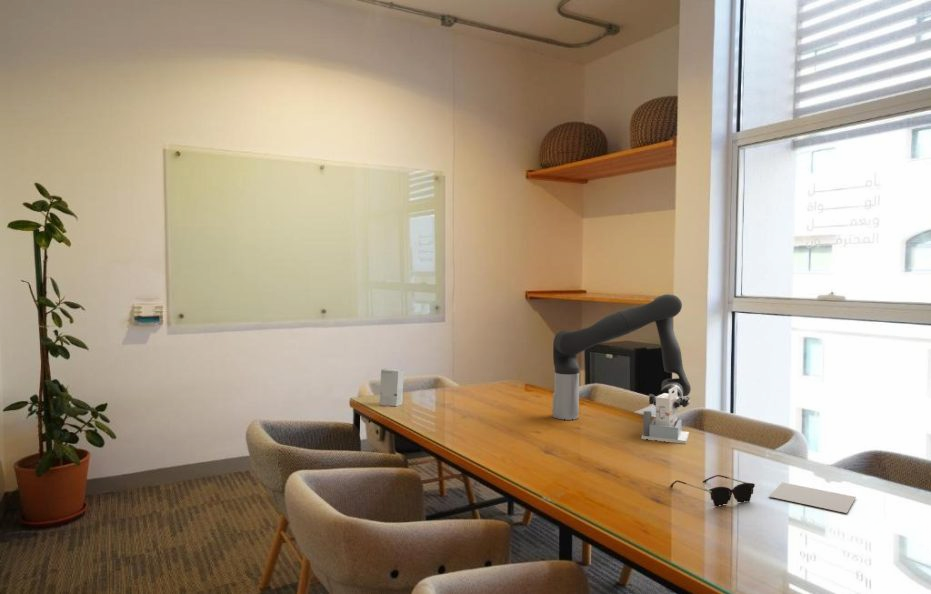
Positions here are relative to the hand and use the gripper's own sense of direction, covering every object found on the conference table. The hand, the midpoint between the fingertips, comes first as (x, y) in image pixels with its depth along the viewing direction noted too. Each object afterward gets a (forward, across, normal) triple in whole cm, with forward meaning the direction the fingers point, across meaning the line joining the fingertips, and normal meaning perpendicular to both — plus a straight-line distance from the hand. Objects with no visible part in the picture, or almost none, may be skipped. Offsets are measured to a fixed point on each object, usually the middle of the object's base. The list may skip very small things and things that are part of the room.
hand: (666, 404), depth 212 cm
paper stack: (+41, +45, +12) cm, 62 cm away
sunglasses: (+53, +16, +11) cm, 56 cm away
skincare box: (-6, -110, +11) cm, 111 cm away
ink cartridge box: (-2, 0, +9) cm, 10 cm away
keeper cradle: (-1, 0, +11) cm, 11 cm away
